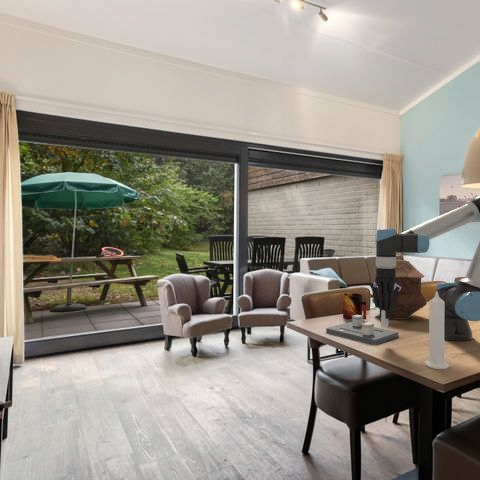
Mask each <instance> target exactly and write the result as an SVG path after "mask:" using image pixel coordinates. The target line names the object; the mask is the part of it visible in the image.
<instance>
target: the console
mask: <svg viewBox="0 0 480 480" xmlns="http://www.w3.org/2000/svg"><path fill="white" fill-rule="evenodd" d="M325 331H326V332H325V333H327V334H331V335H333V336H334V335H335V336H339V337H343V338H346V339H350V340H353V341H357V342H362V343H366V344H370V345H374V346H376V345H378V344H383V343H384V342H388V341H390V340H393V339H396V338H399V331H394V330H390V329H385V328H382V327H375V326H374V334H372V335H369V336H368V335H363V334H362V326H359V327H356V326H352V321H348V322H346V323H345V322H344V323H341V324H337V325H332V326H329V327H327V328H326V329H325Z"/></svg>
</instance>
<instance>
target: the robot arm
mask: <svg viewBox="0 0 480 480" xmlns="http://www.w3.org/2000/svg"><path fill="white" fill-rule="evenodd" d="M473 222H474V223H479V222H480V194H479V195H477V196H476V197H473V198H471V199H469V200H467V201H466V202H465V203H464V205H462V206H459V207H457V208H454V209H453V210H449V211H448V212H446V213H443V214H442V215H439V216H437V217H435V218H432V219H429V220H428V221H424V222H422V223H421V224H419V225H416V226H414V227H411V228H409V229H407V230H405V231H402V232H400V233H399V232H397V229H396V228H378V229H377V230H376V233H375V234H376V235H375V236H376V237H375V267H376V268H375V272H376V274H375V279H374V281H373V282H371V283H369V287H370V288H371V292H372V297H373V298H374V303H375V304H374V303H373V304H374V307H375V308H376V309H378V310H379V318H380V319H381V320H380V321H381V322H380V323H381V324H380V327H381V328H387V327H389V319H391V318H390V311H391V310H393V309H395V308H396V304H397V300H398V296H399V292H400V291H401V289H402V286H399V285H397V284H396V280H395V277H396V269H395V268H394V267H396V260H397V253H400V254H401V253H402V254H403V253H404V254H405V253H406V254H407V253H409V254H425V253H427V252H429V248H430V241H431V240H433V239H435V238H437V237H439V236H442V235H445V234H446V233H449V232H451V231H454V230H456V229H458V228H460V227H463V226H465V225H468V224H471V223H473ZM377 287H378V288H379V293H378V288H377ZM393 288H394V292H393V295H392V299H391V293H392V289H393ZM435 289H436V290H435V292H436V291H438V295H439V297H440V299H442V300H443V301H444V302H445V315H444V340H445V341H447V340H448V341H454V342H465V341H471V340H472V339H473V331H472V329H471V326H470V323H469V322H479V321H480V241H479V242H478V244H477V247H476V249H475V252H474V254H473V258H472V260H471V262H470V264H469V267H468V270H467V272H466V274H465V277H463V278H461V279H459V280H458V282H438V283H437V284H436V287H435ZM373 298H372V299H373Z"/></svg>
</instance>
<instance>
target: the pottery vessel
mask: <svg viewBox="0 0 480 480" xmlns="http://www.w3.org/2000/svg"><path fill="white" fill-rule="evenodd" d="M394 268H395V269H396V277H395V280H396V284H397V285H399V286H402V289H401V291H400V292H399V296H398V300H397V304H396V308H395V309H393V310H391V311H390V318H389V319H394V318H395V320H407V319H410V317H411V316H412V315H413V314H414V313H416V312H418V311H419V310H420V309H423V308H424V307H425V306H427V299H426V298H425V296H424V295H423V294H422V279H423V278H425V275H424V274H423V273H422V272H420V270H419V269H418V268H416V267H415V266H414V265H413V264H412V263H411V262H410V261H409V260H406V259H405V260H404V259H396V267H394ZM374 274H375V275H376V271H374ZM377 288H378V286H377ZM393 292H394V288H393V289H392V293H391V299H392V295H393ZM378 293H379V288H378ZM371 301H372V303H373V304H374V305H375V303H374V298H372V300H371Z"/></svg>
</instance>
